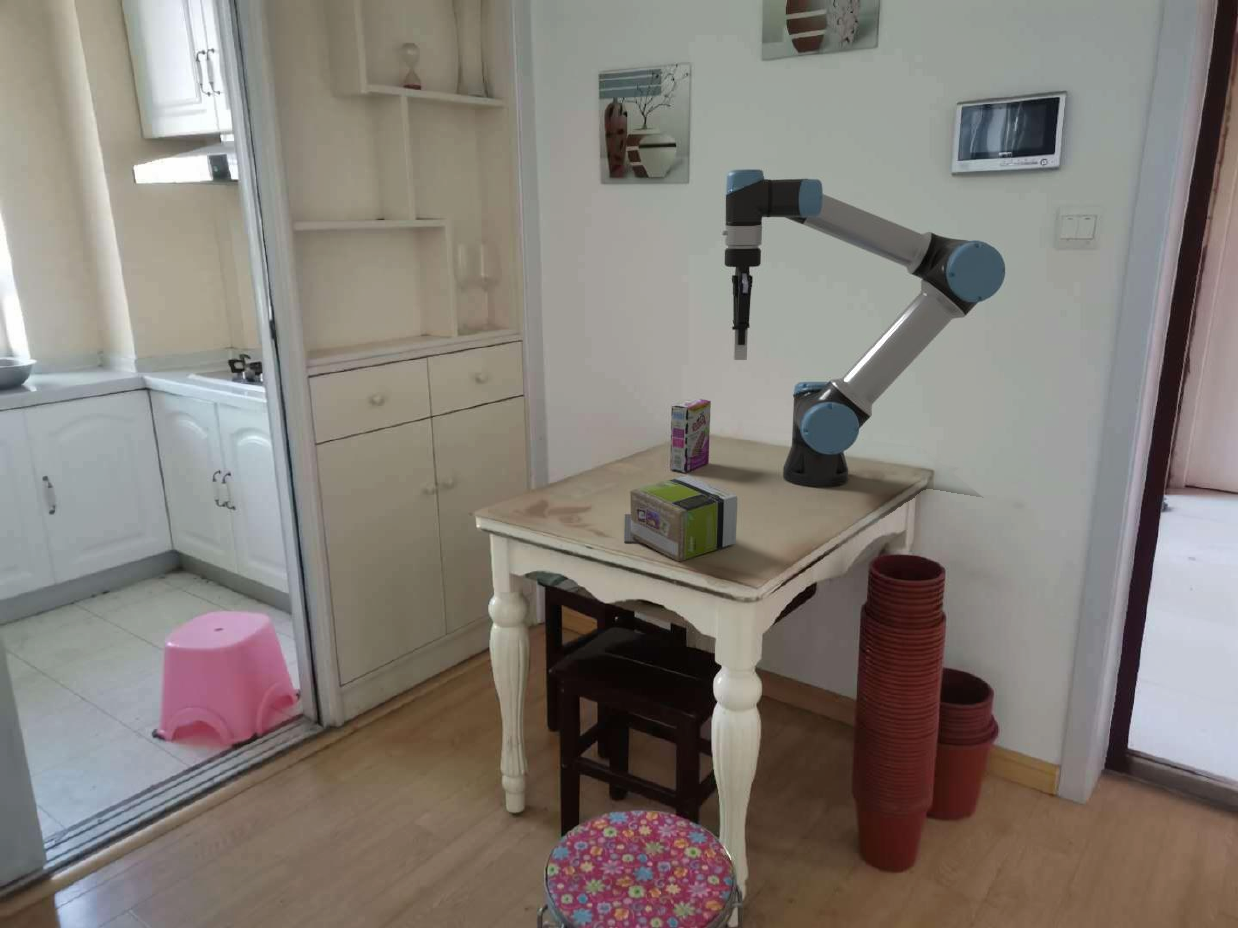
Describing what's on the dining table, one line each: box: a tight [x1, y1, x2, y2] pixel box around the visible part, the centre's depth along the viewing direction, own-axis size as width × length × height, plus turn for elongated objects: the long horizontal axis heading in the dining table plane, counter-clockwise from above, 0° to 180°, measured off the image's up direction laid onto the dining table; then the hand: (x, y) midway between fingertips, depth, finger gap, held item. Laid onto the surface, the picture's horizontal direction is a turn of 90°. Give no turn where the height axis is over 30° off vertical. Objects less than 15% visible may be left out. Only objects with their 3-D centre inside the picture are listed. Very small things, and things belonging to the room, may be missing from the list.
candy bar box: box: [669, 398, 712, 474], centre depth 224 cm, size 11×5×16 cm, turn 144°
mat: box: [623, 513, 643, 544], centre depth 183 cm, size 14×16×1 cm
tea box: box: [629, 474, 738, 562], centre depth 174 cm, size 15×10×15 cm
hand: (740, 359), depth 197 cm, fingers closed
